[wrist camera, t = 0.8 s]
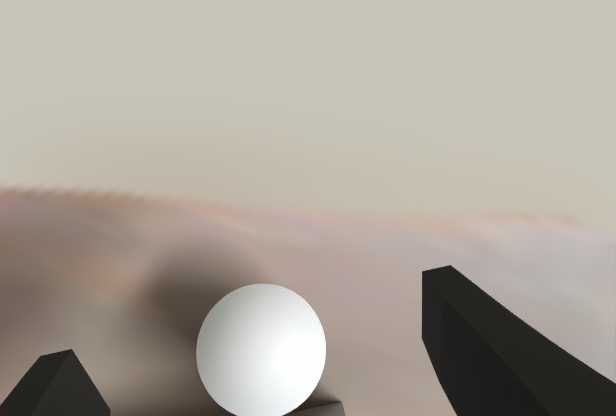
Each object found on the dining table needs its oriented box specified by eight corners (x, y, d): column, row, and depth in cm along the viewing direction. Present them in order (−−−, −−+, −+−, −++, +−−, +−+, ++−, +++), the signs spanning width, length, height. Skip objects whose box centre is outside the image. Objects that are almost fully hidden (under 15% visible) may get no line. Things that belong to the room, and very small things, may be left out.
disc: (337, 398, 21) (338, 404, 19) (215, 423, 21) (205, 432, 19) (312, 276, 22) (311, 272, 20) (199, 299, 22) (188, 297, 20)
